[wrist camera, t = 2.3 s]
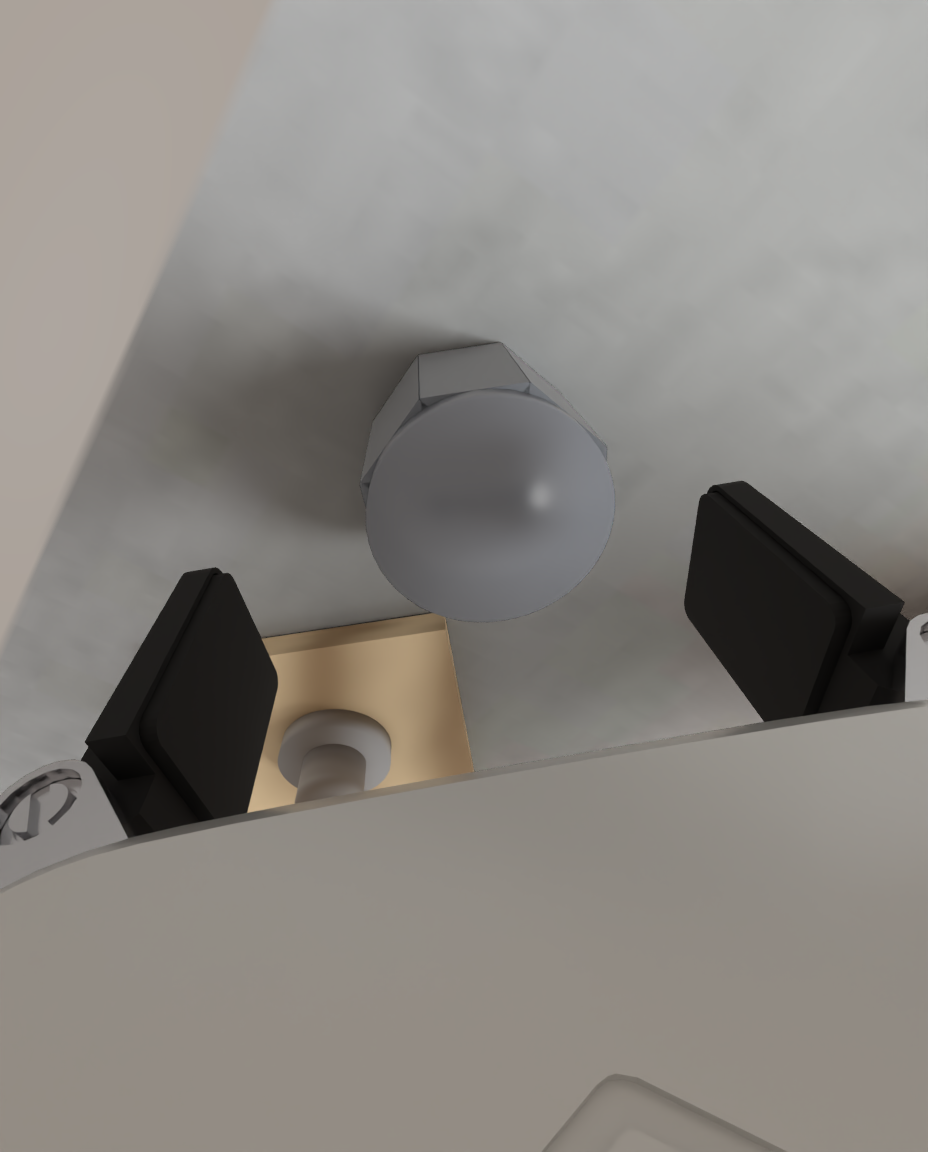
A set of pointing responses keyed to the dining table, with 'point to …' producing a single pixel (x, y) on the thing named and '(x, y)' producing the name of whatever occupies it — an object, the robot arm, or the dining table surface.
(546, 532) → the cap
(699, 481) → the dining table surface
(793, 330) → the dining table surface
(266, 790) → the plate with round knob
